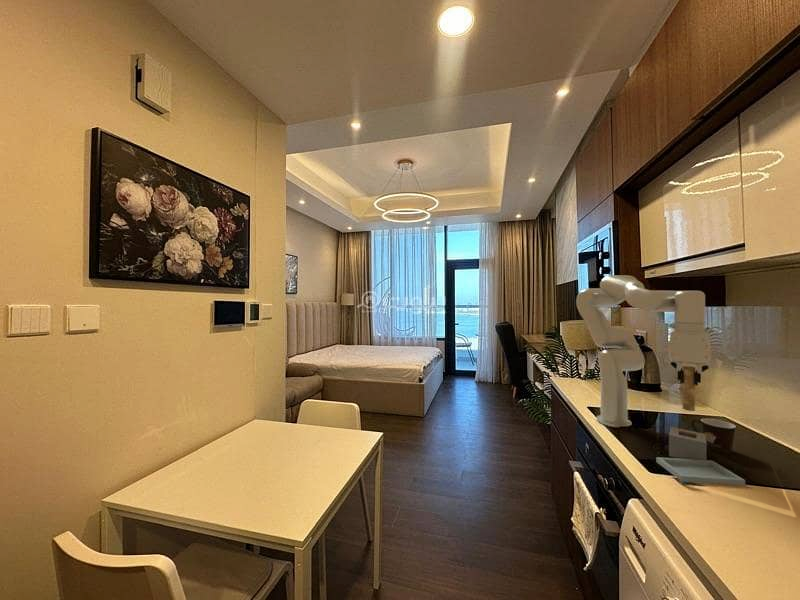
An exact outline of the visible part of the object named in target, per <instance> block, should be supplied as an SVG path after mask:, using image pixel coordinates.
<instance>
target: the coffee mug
mask: <svg viewBox="0 0 800 600" xmlns="http://www.w3.org/2000/svg"><path fill="white" fill-rule="evenodd" d="M695 422H698V423H699V424H700V425H701V430H702V432H699V430H698V429H697V428H696V427H695ZM691 427H692V428H693V430H694V432H698V433H703V434H706V443H707V448H706V450H710V451H711V452H714V453H720V454H730V455H731V453H732V451H733V445H734V439H735V434H736V433H735V432H736V425H735V424H733V423H731V422H727V421H725V420H720V419H714V418H701V419H700V420H698V419H694V420H692V421H691Z"/></svg>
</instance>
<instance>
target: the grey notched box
mask: <svg viewBox="0 0 800 600" xmlns="http://www.w3.org/2000/svg"><path fill="white" fill-rule="evenodd" d="M698 432H699V431H698ZM698 432H696V431H692V430H687V429H683V428H678V427H674V426H670V428H669V432H668V457H670V458H677V459H693V460H707V443H706V434H703V432H700V433H698Z"/></svg>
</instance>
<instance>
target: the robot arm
mask: <svg viewBox="0 0 800 600" xmlns="http://www.w3.org/2000/svg"><path fill="white" fill-rule="evenodd" d="M600 280H601V281H600V282H599V287H598V288H597V287H596V288H594V287H593V288H592V287H591V288H586V289H582V290H581V291H579V292H578V294H577V296H576V300H575V301H576V308H577V310H578V312H579V314H580V316H581V317H582V319H583V320H584V323H585V324H586V327H587V329H588V331H589V332H588V333H590V336H591V338H592V341H593V342H594V344H595V346H597V347H598V348H604V349H603V350H602V351H600V352H599V354H598V356H597V359H598V360H597V361H598V366H599V371H600V408H599V412H600V414H599V415H597V416H596V421H597V422H598V423H600V424H602V425H604V426H607V427H611V428H616V429H617V428H618V429H619V428H620V427H629V426H632V424H633V423H632V421H631V420H629V419H628V380H627V378H626V376H625V375H624V373H623V372H633V371H634V372H635V371H639V370H642V369H643V368H644V366H645V363H646V362H645V361H646V360H645V357H644V356H645V355H644V354H643V352H642V349H641V348H640V346H639V344H638V342H637V339H636V337H635V336H634V334H633V333H632V331H631V330H630V329H629V328H627V327H625V326H622V325H619V326H618V325H616V326H614V325H611V324H610V322H609V321H608V318H607V316H606V315H605V314H604V313H603V312H602V311H601V310H600V309H598V308H601V307H602V308H603V307H605V308H606V307H607V308H608V307H609V308H610V307H615V306H617V305H619V304H621V303H623V302H624V301H626V303H627V304H628V305H629V306H631V307H632V308H633V307H634V308H637V309H639V310H642V311H645V312H651V313H655V312H656V313H657V312H659V313H662V312H663V313H664V312H665V313H673V314H674V321H673V323H669V324H668V328H670V329H673V330H672V331H671V332H670V335H669V345H668V352H667V354H666V356H665V357H664V358H663V361H664V363H667V364H669V365H671V366H672V367H673V368H674V369H675V370H676V371H677V381H680V382H679V384H683V363H684V364H685V363H686V364H695V366H696V367H695V368H696V369H695V386H699V384H698V383H702V381H701V380H702V378H701V377H702V373H703V372H705V371H707V370H708V369H712V368H716V367H717V363H716V362H715V360H714V358H713V357H712V355H711V342H710V336H709V333H708V332H706V294H705V293H704V292H703V291H701V290H666V289H665V290H659V289H658V290H650V289H647V288H645V285H644V284H643V283H642V282H641V281H639V280H638V279H637V278H636V277H635V276H633V275H628V274H627V275H624V274H623V275H621V274H619V275H617V274H616V275H615V274H613V275H612V274H611V275H607V276H605V277H603V278H601V279H600Z"/></svg>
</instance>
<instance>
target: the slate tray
mask: <svg viewBox="0 0 800 600" xmlns="http://www.w3.org/2000/svg"><path fill="white" fill-rule="evenodd" d="M655 460H656V461H655V462H656V463H657V464H658V465H659V466H661V467H662V468H663V469H665V470H666V471H667V472H668V473H670V474H671V475H673V476H670V477H671V478H672V479H674V480H675V481H676V482H677V483H679V484H680V485H681V486H694V487H706V488H707V486H706V485H703V484H714V485H730V486H742V487H743V486H744V487H745V486H746V479H744V478H743V477H740V476H739V475H737V474H736V473H734V472H732V471H731V470H729V469H728V468H725V467H724V466H722V465H721V464H718V462H716V461H714V460H708V459H706V460H693V459H679V458H675V457H660V456H659V457H655ZM700 483H701V484H700Z"/></svg>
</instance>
